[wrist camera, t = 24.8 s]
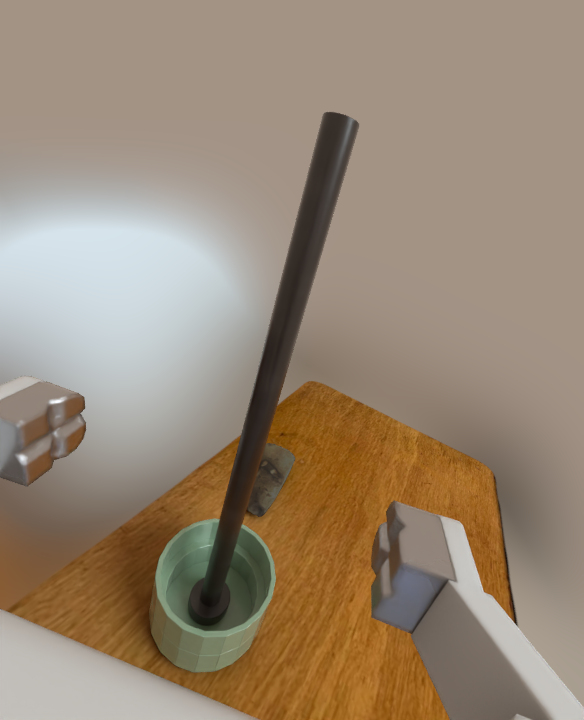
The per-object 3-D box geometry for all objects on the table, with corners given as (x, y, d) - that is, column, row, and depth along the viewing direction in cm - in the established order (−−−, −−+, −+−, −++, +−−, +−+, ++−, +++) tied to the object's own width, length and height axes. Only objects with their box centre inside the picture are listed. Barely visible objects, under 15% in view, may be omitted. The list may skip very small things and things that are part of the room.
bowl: (156, 701, 25) (164, 660, 22) (143, 570, 32) (149, 531, 30) (277, 647, 30) (294, 609, 27) (241, 545, 37) (252, 510, 35)
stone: (264, 450, 53) (267, 438, 52) (294, 460, 52) (298, 448, 52) (237, 514, 41) (240, 501, 40) (275, 528, 41) (280, 515, 40)
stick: (192, 633, 28) (330, 97, 14) (184, 590, 31) (292, 108, 16) (233, 618, 30) (393, 131, 15) (222, 578, 33) (349, 135, 18)
